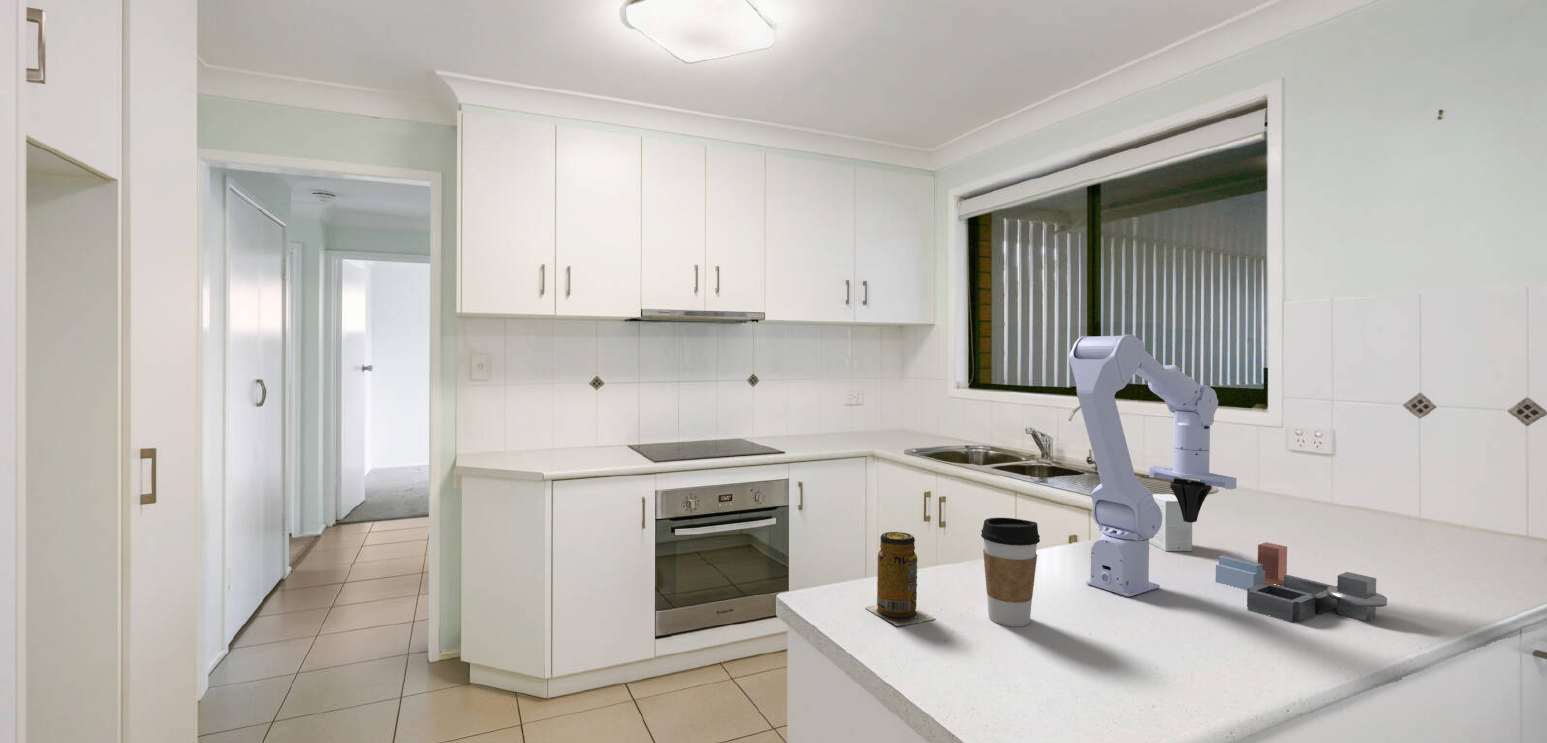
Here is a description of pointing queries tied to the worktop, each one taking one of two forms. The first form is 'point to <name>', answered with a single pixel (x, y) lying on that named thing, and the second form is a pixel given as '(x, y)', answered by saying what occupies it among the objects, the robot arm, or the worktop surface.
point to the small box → (1172, 526)
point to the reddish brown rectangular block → (1273, 562)
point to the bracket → (1239, 572)
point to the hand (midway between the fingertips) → (1190, 521)
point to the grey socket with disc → (1317, 598)
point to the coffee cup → (1010, 568)
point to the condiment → (897, 580)
